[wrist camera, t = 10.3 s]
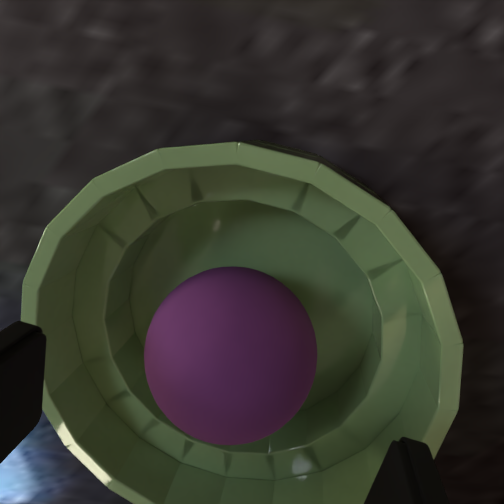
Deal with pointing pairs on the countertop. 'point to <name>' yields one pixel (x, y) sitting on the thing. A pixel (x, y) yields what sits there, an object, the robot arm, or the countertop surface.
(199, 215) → the bowl
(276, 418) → the ball
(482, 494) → the countertop surface
